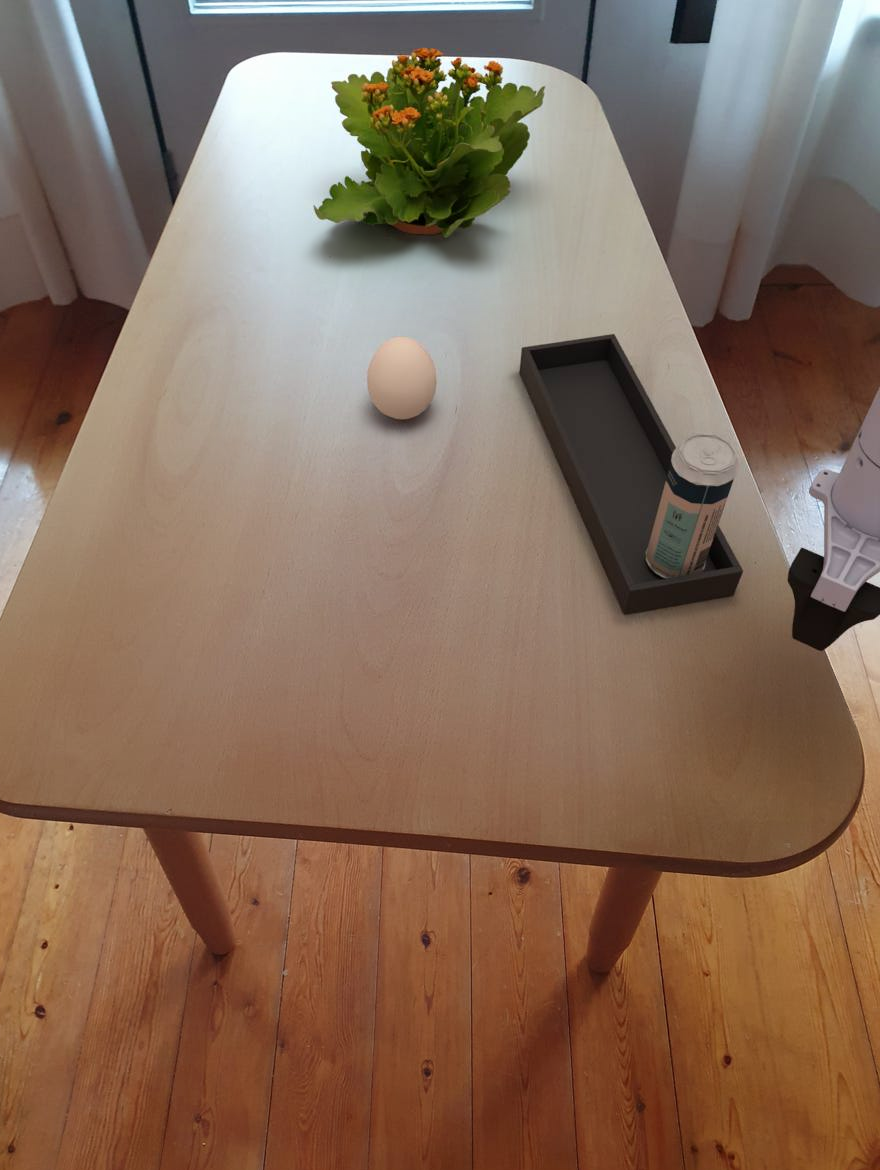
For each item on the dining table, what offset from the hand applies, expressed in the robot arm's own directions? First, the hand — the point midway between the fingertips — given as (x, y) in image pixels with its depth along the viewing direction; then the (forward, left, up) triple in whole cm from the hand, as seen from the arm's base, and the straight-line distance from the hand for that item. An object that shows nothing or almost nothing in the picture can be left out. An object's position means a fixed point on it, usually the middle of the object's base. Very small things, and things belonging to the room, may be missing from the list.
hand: (830, 602), depth 64 cm
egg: (+32, -28, -11) cm, 44 cm away
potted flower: (+33, -63, -11) cm, 72 cm away
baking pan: (+12, -22, -10) cm, 27 cm away
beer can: (+8, -11, -10) cm, 17 cm away
